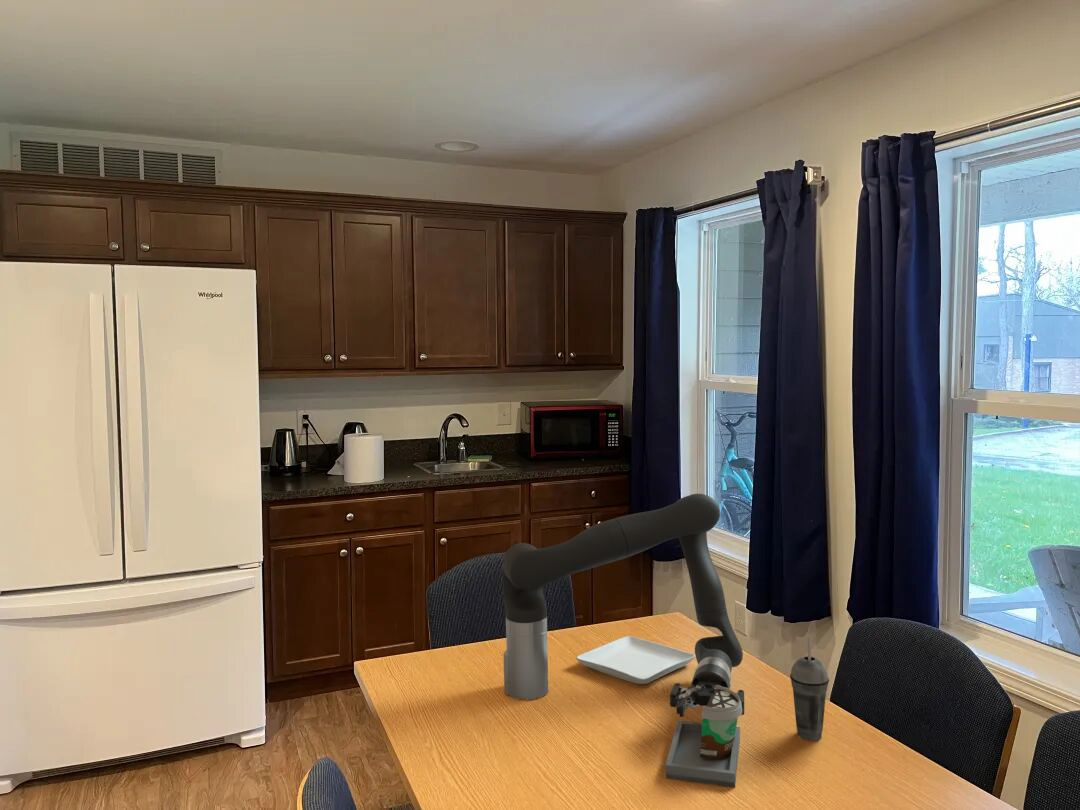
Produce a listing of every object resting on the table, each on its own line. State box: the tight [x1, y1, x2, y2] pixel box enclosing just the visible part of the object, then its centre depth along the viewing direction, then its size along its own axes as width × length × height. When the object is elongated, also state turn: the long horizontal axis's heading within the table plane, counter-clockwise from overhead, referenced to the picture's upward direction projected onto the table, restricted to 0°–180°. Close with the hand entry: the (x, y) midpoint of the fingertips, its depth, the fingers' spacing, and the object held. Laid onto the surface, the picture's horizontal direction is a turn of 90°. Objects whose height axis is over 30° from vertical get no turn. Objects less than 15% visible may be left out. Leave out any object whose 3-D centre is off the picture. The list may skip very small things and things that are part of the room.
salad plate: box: [576, 635, 696, 685], centre depth 192 cm, size 21×21×3 cm
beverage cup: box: [789, 636, 830, 742], centre depth 155 cm, size 7×7×20 cm
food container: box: [700, 685, 742, 759], centre depth 148 cm, size 12×6×10 cm, turn 156°
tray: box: [665, 720, 741, 788], centre depth 148 cm, size 12×18×2 cm, turn 163°
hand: (704, 714), depth 150 cm, fingers open, 8 cm apart
